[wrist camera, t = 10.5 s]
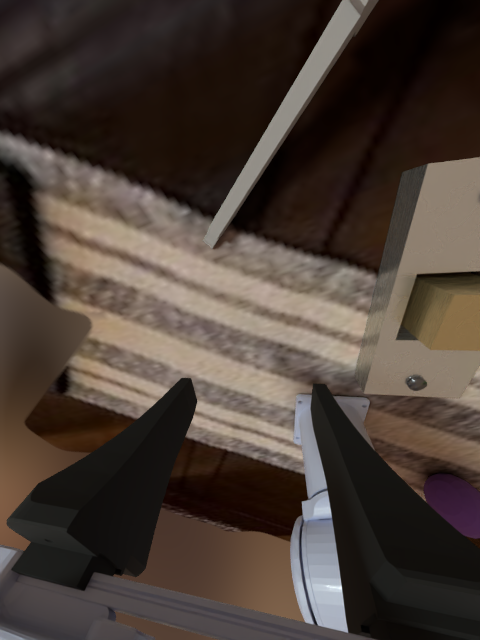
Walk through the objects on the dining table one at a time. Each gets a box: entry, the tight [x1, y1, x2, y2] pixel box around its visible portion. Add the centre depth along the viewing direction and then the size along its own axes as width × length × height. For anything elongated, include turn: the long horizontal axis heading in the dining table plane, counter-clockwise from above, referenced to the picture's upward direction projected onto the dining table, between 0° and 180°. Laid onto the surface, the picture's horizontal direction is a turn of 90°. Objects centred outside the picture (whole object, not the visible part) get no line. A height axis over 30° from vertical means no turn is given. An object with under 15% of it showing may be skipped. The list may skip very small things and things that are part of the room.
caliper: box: [203, 0, 378, 248], centre depth 10 cm, size 20×1×6 cm, turn 142°
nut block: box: [401, 272, 480, 351], centre depth 15 cm, size 4×4×5 cm
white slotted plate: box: [354, 157, 480, 398], centre depth 15 cm, size 18×8×3 cm, turn 5°
